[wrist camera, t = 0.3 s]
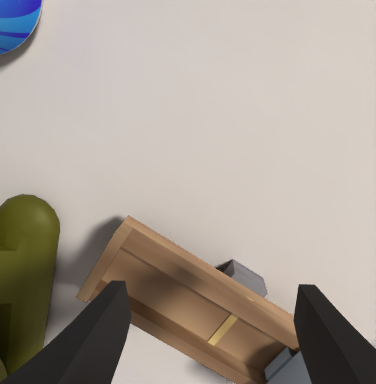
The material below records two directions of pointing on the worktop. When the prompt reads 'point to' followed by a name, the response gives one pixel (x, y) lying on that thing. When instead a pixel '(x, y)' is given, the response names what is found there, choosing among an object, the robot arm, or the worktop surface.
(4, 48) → the beer can
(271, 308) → the wooden tray
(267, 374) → the block
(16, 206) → the spaceship
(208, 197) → the worktop surface
